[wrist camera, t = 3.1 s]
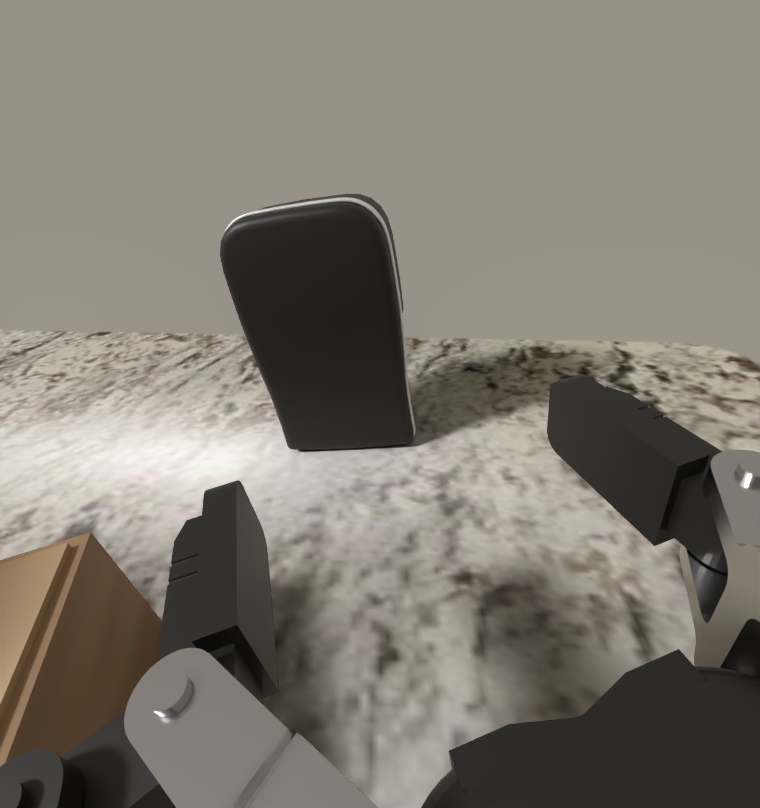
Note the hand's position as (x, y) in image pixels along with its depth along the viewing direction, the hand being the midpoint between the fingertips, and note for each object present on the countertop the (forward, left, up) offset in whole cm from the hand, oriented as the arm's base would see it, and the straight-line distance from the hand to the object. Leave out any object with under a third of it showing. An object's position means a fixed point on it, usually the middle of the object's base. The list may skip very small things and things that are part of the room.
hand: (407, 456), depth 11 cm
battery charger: (0, +11, -7) cm, 13 cm away
